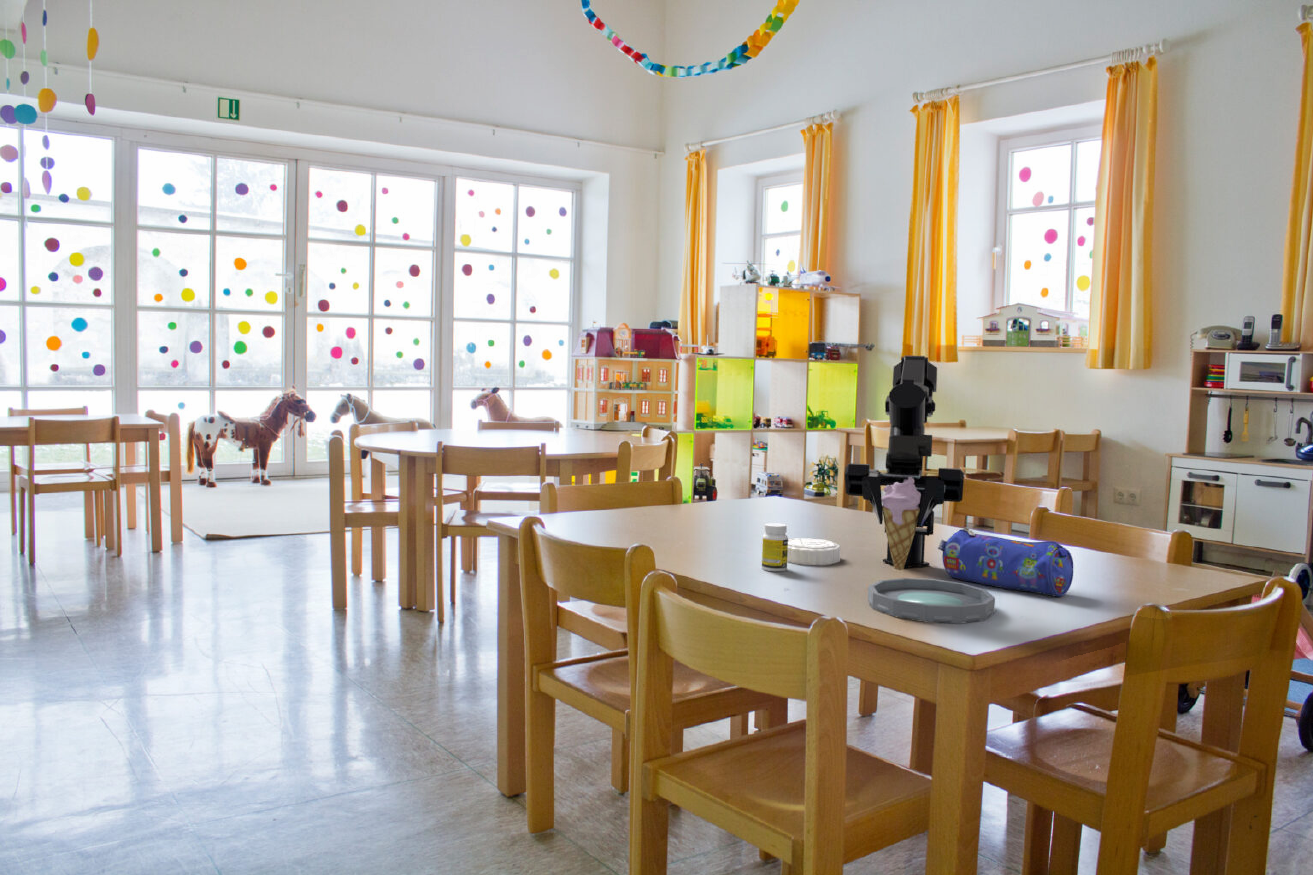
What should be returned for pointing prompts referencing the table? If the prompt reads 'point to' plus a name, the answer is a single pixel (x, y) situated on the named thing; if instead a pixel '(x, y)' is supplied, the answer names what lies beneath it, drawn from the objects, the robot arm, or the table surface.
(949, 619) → the round tray
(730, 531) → the table surface
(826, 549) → the mooncake
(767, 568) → the supplement bottle
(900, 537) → the ice cream cone
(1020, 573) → the pencil case
